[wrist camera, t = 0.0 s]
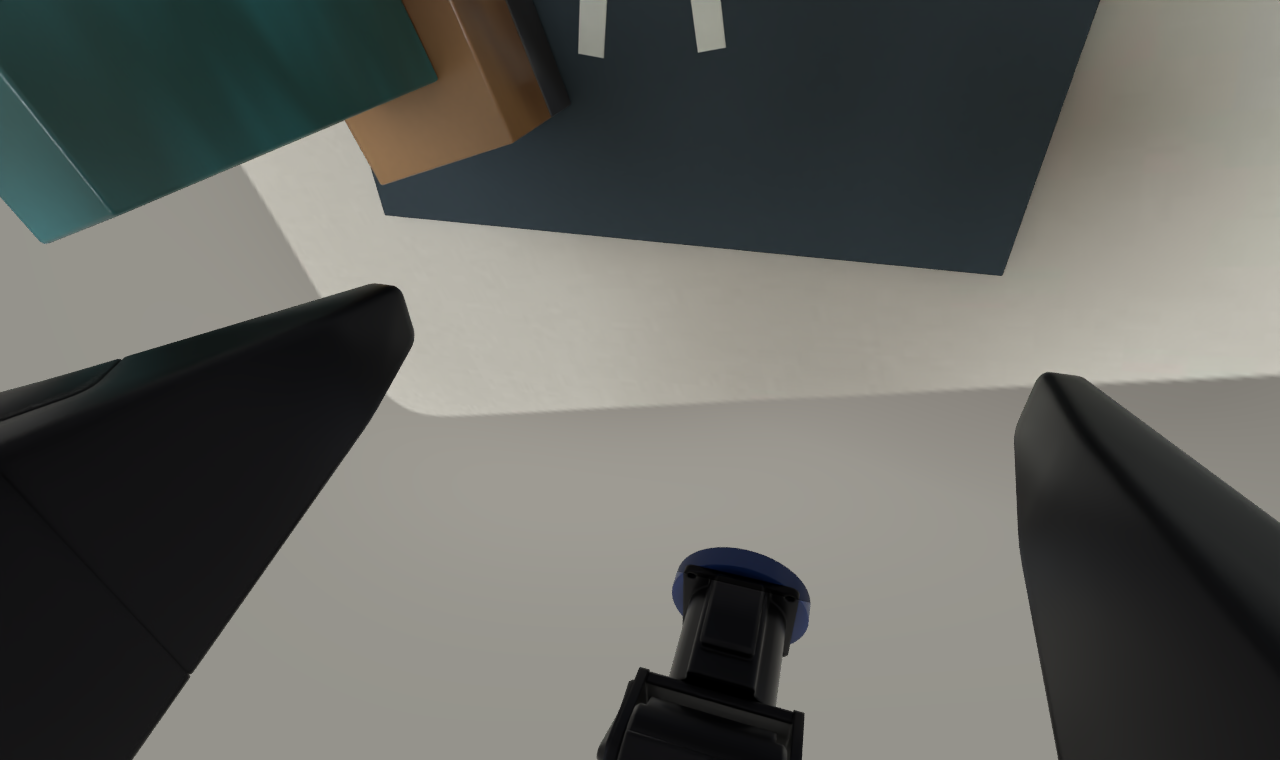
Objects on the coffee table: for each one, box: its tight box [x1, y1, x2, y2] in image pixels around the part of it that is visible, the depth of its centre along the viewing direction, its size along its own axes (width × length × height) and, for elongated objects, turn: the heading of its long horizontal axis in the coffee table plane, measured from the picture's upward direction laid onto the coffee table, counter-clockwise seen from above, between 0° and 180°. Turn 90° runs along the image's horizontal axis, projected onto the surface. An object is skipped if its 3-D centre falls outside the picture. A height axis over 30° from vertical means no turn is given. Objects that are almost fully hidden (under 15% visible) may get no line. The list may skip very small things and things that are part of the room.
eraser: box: [0, 0, 571, 244], centre depth 14 cm, size 7×5×13 cm
